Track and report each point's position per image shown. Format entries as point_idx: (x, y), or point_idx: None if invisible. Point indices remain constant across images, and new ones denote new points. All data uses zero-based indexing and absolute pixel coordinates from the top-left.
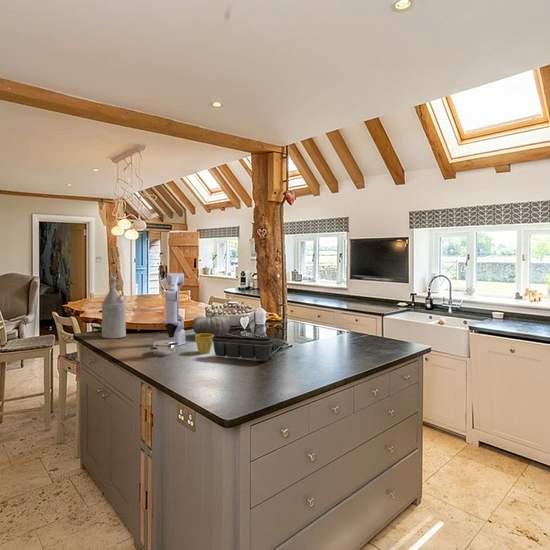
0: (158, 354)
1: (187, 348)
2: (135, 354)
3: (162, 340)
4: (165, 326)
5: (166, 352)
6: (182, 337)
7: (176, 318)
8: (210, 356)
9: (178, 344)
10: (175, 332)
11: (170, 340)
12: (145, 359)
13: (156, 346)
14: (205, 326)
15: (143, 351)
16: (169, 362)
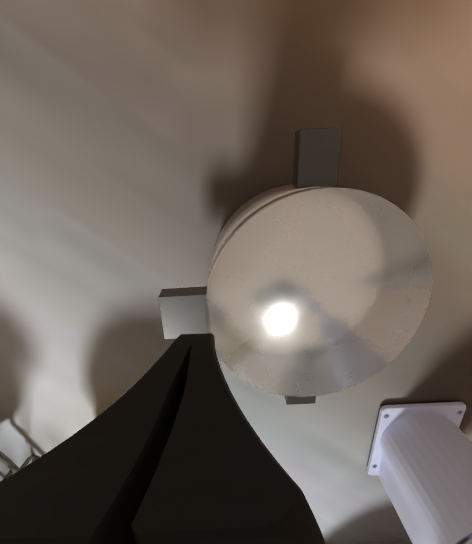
0: (263, 192)
1: (277, 422)
2: (456, 74)
3: (398, 339)
4: (269, 488)
5: (217, 241)
6: (403, 502)
7: None
8: (19, 401)
9: (379, 435)
10: (456, 520)
11: (323, 378)
12: (240, 22)
13: (300, 188)
14: None
15: (466, 192)
16: (13, 121)
